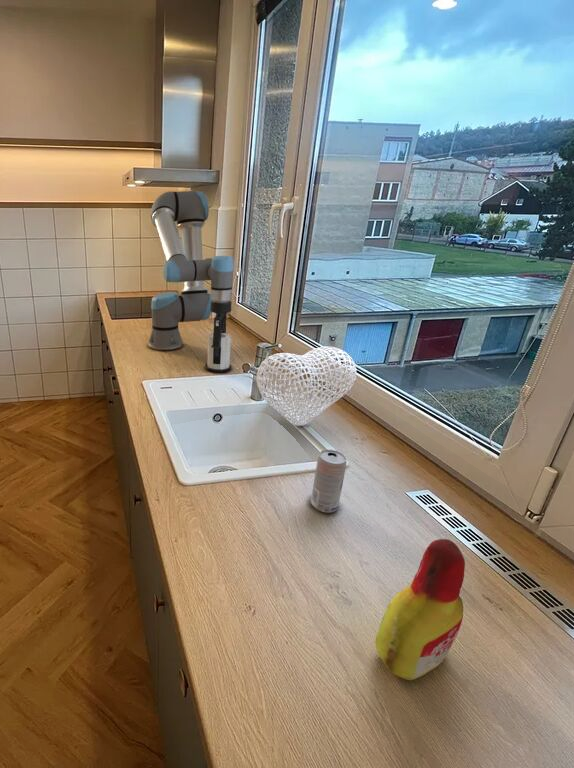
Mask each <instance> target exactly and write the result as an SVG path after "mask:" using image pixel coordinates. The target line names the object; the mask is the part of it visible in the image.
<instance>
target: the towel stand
mask: <svg viewBox="0 0 574 768" xmlns="http://www.w3.org/2000/svg"><path fill="white" fill-rule="evenodd" d="M204 368H205V371H207V372H209V373H212V374H226V373H229V372H231V371H232V364H231V363H230V366H229V368H227V369H222V370H220V369H219V370H217V369H212V368H209V367H208V366H207V363H206V364H205V367H204Z"/></svg>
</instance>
